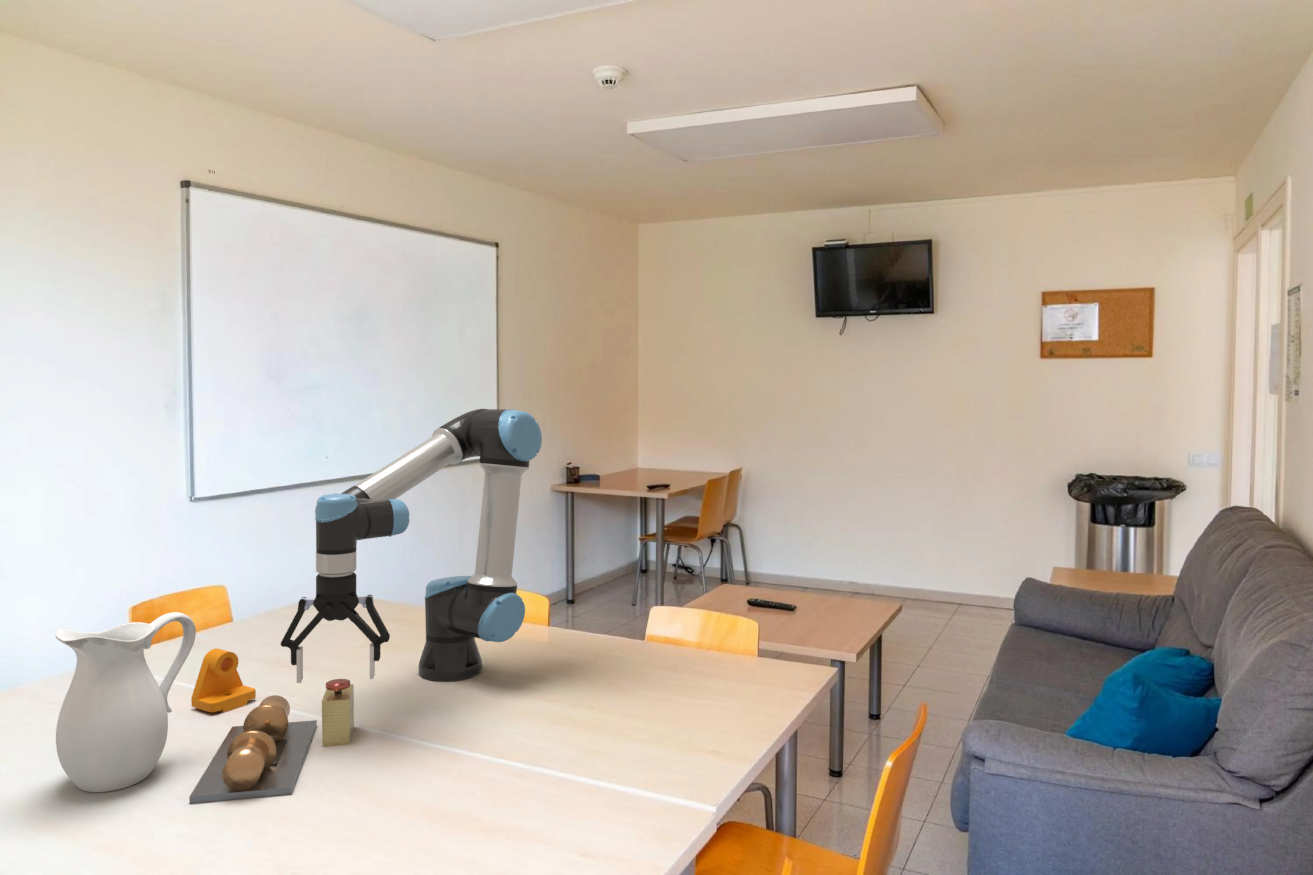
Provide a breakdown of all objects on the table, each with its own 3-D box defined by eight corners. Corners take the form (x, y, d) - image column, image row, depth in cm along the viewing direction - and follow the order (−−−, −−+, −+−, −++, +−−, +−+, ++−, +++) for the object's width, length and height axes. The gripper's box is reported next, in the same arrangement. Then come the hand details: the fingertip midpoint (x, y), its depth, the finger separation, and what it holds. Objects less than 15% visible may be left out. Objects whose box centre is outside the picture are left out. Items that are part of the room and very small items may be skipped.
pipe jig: (232, 732, 179) (231, 692, 178) (316, 725, 183) (316, 686, 182) (189, 803, 149) (188, 755, 148) (291, 794, 153) (290, 747, 152)
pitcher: (87, 810, 146) (82, 644, 145) (38, 784, 155) (33, 628, 154) (224, 758, 167) (221, 612, 165) (174, 738, 175) (170, 599, 174)
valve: (354, 726, 182) (353, 674, 182) (349, 744, 174) (348, 689, 173) (328, 728, 181) (327, 676, 181) (322, 746, 173) (321, 691, 172)
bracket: (212, 716, 187) (210, 660, 187) (191, 709, 191) (190, 655, 190) (257, 701, 197) (256, 647, 196) (237, 694, 200) (236, 642, 200)
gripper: (402, 567, 182) (402, 669, 183) (272, 570, 176) (272, 676, 177) (401, 574, 175) (400, 681, 176) (264, 578, 169) (265, 688, 170)
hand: (336, 678), depth 176 cm, fingers open, 13 cm apart
